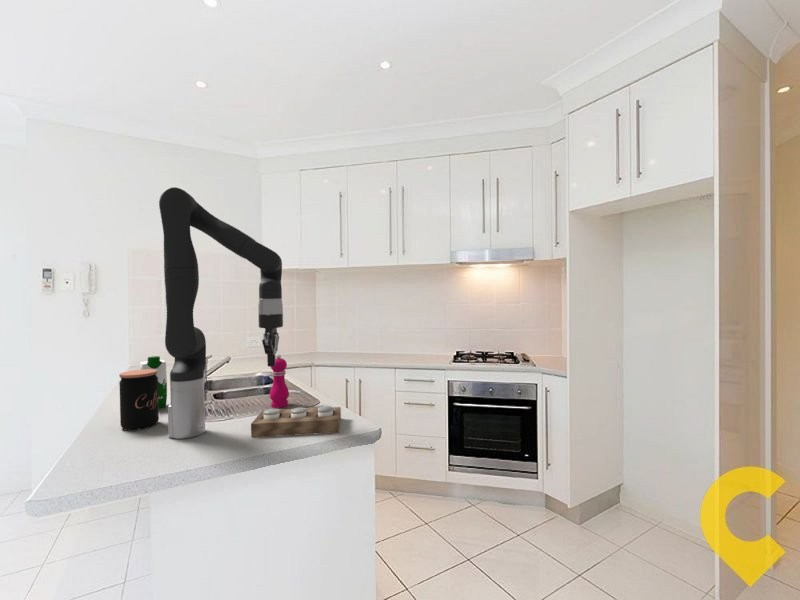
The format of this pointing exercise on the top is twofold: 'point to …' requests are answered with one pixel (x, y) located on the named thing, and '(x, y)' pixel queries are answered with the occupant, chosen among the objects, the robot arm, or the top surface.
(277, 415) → the knob
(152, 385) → the coffee jar
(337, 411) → the control board
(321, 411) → the knob
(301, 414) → the middle knob
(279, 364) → the pepper mill
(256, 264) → the robot arm
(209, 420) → the top surface
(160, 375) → the milk carton
